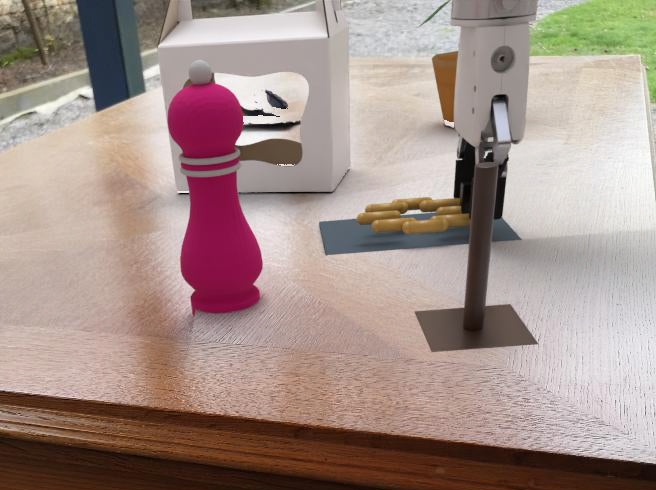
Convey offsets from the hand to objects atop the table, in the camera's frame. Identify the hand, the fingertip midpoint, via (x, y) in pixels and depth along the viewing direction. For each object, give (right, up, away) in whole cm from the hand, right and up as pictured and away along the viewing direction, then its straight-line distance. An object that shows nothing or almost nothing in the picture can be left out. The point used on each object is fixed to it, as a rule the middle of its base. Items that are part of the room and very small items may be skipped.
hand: (476, 207), depth 80 cm
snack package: (-22, +38, +61) cm, 75 cm away
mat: (-6, -3, +2) cm, 7 cm away
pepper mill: (-25, -13, -9) cm, 30 cm away
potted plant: (+11, +33, +49) cm, 60 cm away
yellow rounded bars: (-6, -1, +1) cm, 6 cm away
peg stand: (-5, -18, -18) cm, 26 cm away
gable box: (-22, +15, +28) cm, 39 cm away
